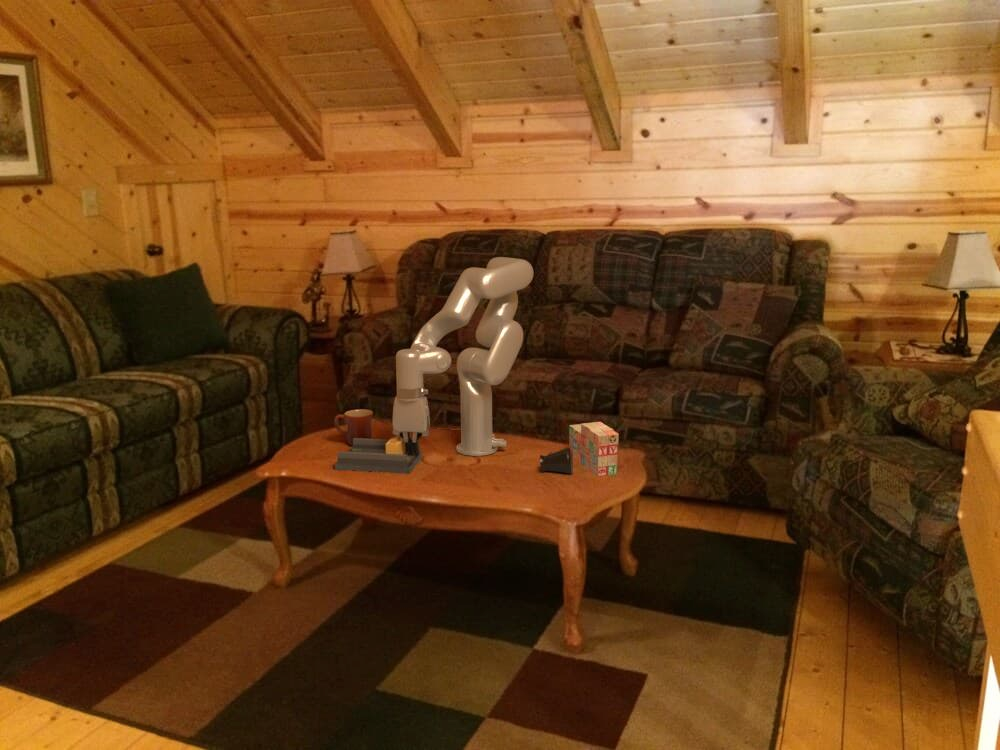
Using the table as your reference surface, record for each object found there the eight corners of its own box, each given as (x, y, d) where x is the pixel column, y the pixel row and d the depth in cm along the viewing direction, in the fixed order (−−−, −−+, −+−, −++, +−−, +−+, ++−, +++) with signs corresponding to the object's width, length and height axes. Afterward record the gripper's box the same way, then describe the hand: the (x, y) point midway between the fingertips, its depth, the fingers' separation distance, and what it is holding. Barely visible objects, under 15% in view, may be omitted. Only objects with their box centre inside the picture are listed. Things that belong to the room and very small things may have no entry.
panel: (422, 458, 253) (422, 448, 252) (409, 473, 239) (409, 463, 239) (351, 454, 256) (351, 445, 256) (335, 469, 243) (334, 459, 242)
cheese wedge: (405, 454, 249) (404, 435, 248) (399, 461, 243) (399, 441, 242) (392, 453, 250) (391, 435, 248) (386, 460, 244) (385, 441, 243)
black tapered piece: (572, 476, 235) (541, 479, 237) (577, 464, 253) (549, 467, 254) (568, 449, 235) (538, 453, 236) (574, 439, 252) (545, 442, 254)
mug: (376, 440, 270) (375, 409, 268) (371, 448, 262) (370, 416, 260) (339, 440, 271) (337, 409, 269) (332, 448, 262) (331, 416, 260)
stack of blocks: (568, 454, 255) (568, 415, 253) (587, 452, 257) (588, 413, 254) (597, 477, 236) (598, 435, 233) (617, 475, 237) (619, 432, 235)
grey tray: (419, 451, 253) (419, 440, 252) (405, 467, 239) (405, 456, 238) (355, 448, 256) (354, 437, 255) (337, 463, 242) (337, 453, 241)
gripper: (438, 390, 244) (439, 451, 248) (388, 388, 246) (390, 449, 250) (432, 397, 236) (433, 459, 240) (380, 395, 239) (382, 457, 243)
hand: (411, 454), depth 245 cm, fingers closed
